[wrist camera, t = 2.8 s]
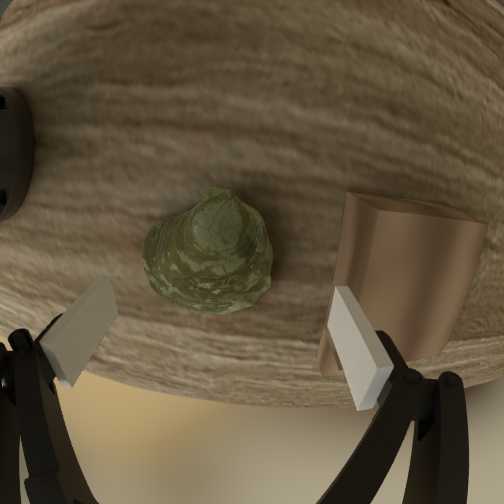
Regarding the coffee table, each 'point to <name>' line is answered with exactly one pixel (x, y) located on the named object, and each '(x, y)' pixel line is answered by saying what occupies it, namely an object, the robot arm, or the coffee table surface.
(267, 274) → the seashell
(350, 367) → the robot arm
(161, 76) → the coffee table surface
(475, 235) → the block
